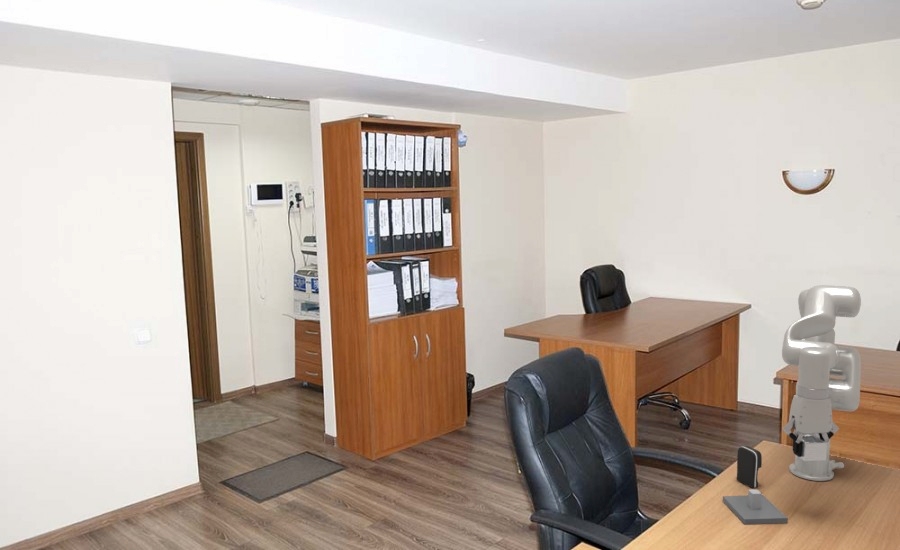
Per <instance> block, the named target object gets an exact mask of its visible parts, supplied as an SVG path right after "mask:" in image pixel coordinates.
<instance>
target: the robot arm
mask: <svg viewBox="0 0 900 550" xmlns="http://www.w3.org/2000/svg"><path fill="white" fill-rule="evenodd" d="M860 294H861V293H860V291H859V290H858V289H857V288H855V287H852V286H844V285H843V286H842V285H825V284H824V285H815V286H812V287H810V288H808V289H804V290H802V291H800V293H799V295H798V298H797V299H798V300H797V301H798V311H799V315H800V318H798V319H797V320H795V321H794V322H792V323H791V324H790V325H789V326H788V327H787V329H786V331H785V333H784V336H783V340H782V349H781V356H782V357H781V358H782V360H783V362H784V363H785V364H787V365H788V366H794V367H798V371H797V372H798V375H797V376H798V377H797V382H796V385H795V394H794V395H793V398H792V400H791V404H790V409H789V410H790V411H789V417H788V422H787V423H786V424H785V425H784V426H783V427H782V429H781V430H782V431H783V432H784V433H785V434H786V435H787V436H788V437H790V439H791V440H792V453H793V454H794V457H795V460H794V462H792V463H791V464H789V466H788V467H789V472H790V473H791V474H792V475H794V476H796V477H799V478H801V479H805V480H807V481H808V480H809V481H815V482H826V481H831V480H832V479H833V478H834V477H835V473H834V471H833V470H835V469H836V470H837V469H838V470H839V469H844V468H845V464H844V462H842V461H839V462H838V461H837V462H836V460H835V459H830V450H831V448H830V447H831V439H832V437H834V434H836V433H837V432H838V431H840V427H839V426H837V424H836V423H835V422H834V421H833V410H835V411H841V412H854V411H856V410H858V408H859V405H860V399H861V397H860V396H861V376H862V373H861V372H862V359H861V355H860V354H861V353H859V350H858V349H856V348H854V347H850V346H842V345H841V346H840V345H835V343H836V341H835V339H836V338H835V337H836V331H835V329H834V328H835V325H836V320H837V319H836V317H837V318H855V317H857V316H858V315H859V313H860V309H861V305H862V298H861V295H860ZM830 376H832V378H831V377H830ZM833 377H841V378H842V379H839V378H833ZM791 429H794V430H793V432H792V431H791ZM803 435H816V436H817V437H819V438H820V439H822V440H823V441H825V442H826V443H827V450H826V460H821V461H804V460H802V459H801V458H800V457H801V456H802V443H800V442H801V440H802V437H803Z"/></svg>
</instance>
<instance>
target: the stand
mask: <svg viewBox="0 0 900 550" xmlns="http://www.w3.org/2000/svg"><path fill="white" fill-rule="evenodd" d="M722 503H724V504H725V505H726V506H727V508H728V509H729V510H730V511H731V510H732V511H731V512H732V513H733V514H734V515H735V516H736V517H737V519H739V520H740V521H741V523H742V524H743V525H764V524H765V525H770V524H771V525H773V524H774V525H777V524H788V523H789V521H788V520H789V519H788V517H787V516H786V515H785V514H784V513H783V512H782V510H780V509H779V508H778V507H777V506H775V505H774V504H773V503H772V501H770V500H769V499H768V498H767V497H766V496H765V495H764V494H762V492H761V491H760V490H758V489H748V490H747V494H745V495H722Z"/></svg>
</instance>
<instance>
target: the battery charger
mask: <svg viewBox="0 0 900 550" xmlns="http://www.w3.org/2000/svg"><path fill="white" fill-rule="evenodd" d="M736 454H737V456H736V458H737V459H736V469H737V470H736V480H737V481H738V482H740V483H742V484H744V485H745V486H747V487H750V488H757V487H759V482H758V476H759V474H758V473H759V469H760V468H762V465H763V464H762V462H763V459H762V458H763V457H762V453H761V452H760V450H757V449H756V448H753V447H751V446H748V445H745V446H740V447H738V449H737V453H736Z"/></svg>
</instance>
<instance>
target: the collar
mask: <svg viewBox="0 0 900 550" xmlns="http://www.w3.org/2000/svg"><path fill="white" fill-rule="evenodd" d="M800 443H802V456H801V457H800V458H801V459H802V460H804V461H821V460H826V450H827V443H826V442H825V441H823V440H822V439H820V438H819V437H817V436H816V435H803V437H802V440H801V442H800Z"/></svg>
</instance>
